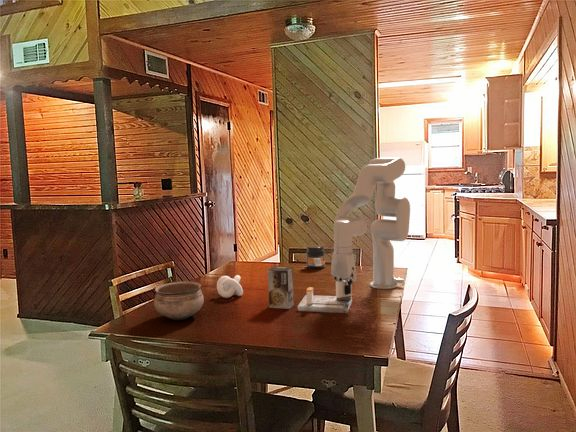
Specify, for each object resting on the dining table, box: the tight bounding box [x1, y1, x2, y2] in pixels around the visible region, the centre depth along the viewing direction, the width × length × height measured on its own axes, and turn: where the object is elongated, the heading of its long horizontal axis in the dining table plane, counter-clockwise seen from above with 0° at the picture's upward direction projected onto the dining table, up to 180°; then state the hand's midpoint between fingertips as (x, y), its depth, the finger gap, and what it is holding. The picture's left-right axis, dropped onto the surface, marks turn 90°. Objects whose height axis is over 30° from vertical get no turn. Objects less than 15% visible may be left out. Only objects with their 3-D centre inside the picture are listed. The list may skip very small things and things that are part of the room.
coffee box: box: [267, 266, 295, 310], centre depth 197 cm, size 9×6×16 cm
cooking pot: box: [153, 281, 205, 321], centre depth 187 cm, size 25×19×12 cm
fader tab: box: [305, 286, 314, 304], centre depth 194 cm, size 2×4×6 cm, turn 166°
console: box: [297, 294, 353, 314], centre depth 197 cm, size 20×16×2 cm
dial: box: [335, 279, 353, 300], centre depth 199 cm, size 6×6×7 cm
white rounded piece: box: [216, 274, 244, 299], centre depth 215 cm, size 11×12×9 cm
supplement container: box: [305, 244, 326, 270], centre depth 269 cm, size 10×10×12 cm
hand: (344, 292), depth 199 cm, fingers open, 3 cm apart
